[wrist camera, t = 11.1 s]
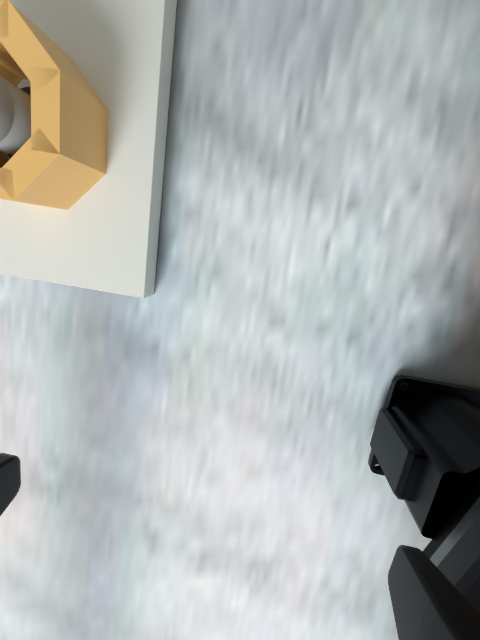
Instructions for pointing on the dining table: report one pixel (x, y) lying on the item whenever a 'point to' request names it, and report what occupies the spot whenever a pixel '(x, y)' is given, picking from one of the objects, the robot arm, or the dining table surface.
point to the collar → (50, 119)
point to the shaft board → (122, 149)
